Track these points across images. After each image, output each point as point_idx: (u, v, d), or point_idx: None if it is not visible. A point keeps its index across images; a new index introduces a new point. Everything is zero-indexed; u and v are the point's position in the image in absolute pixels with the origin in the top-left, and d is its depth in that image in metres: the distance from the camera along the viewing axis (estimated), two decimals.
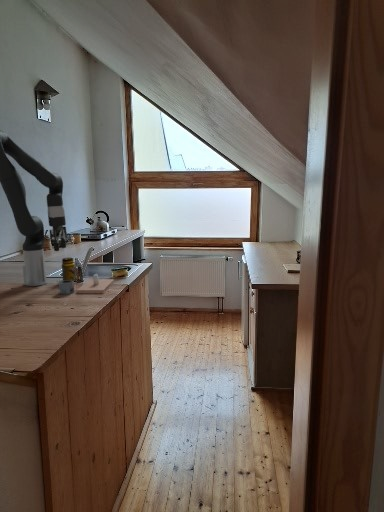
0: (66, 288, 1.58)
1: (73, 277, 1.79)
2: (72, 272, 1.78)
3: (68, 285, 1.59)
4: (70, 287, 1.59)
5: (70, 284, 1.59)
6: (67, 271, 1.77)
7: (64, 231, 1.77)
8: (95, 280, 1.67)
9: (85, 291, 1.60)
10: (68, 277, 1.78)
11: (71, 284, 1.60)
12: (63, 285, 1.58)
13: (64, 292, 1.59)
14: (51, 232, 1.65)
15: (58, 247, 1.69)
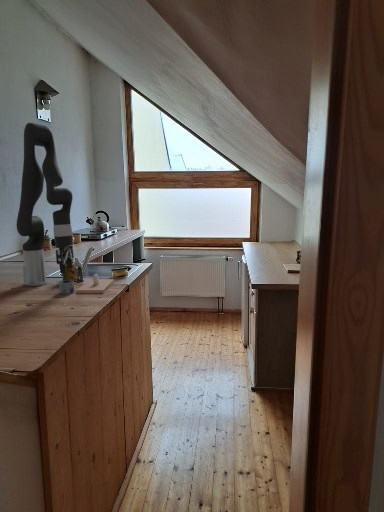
0: (66, 288, 1.58)
1: (73, 277, 1.79)
2: (72, 272, 1.78)
3: (68, 285, 1.59)
4: (70, 287, 1.59)
5: (70, 284, 1.59)
6: (67, 271, 1.77)
7: (71, 250, 1.64)
8: (95, 280, 1.67)
9: (85, 291, 1.60)
10: (68, 277, 1.78)
11: (71, 284, 1.60)
12: (63, 285, 1.58)
13: (64, 292, 1.59)
14: (57, 253, 1.52)
15: (64, 269, 1.55)
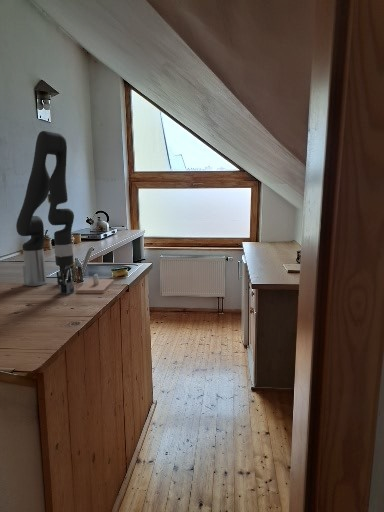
0: None
1: None
2: None
3: (68, 285, 1.59)
4: (70, 287, 1.59)
5: (70, 284, 1.59)
6: None
7: (71, 270, 1.65)
8: (95, 280, 1.67)
9: (85, 291, 1.60)
10: None
11: (71, 284, 1.60)
12: None
13: None
14: (58, 275, 1.53)
15: (66, 289, 1.58)
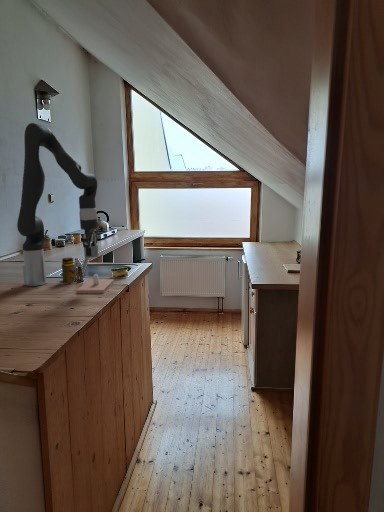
0: (91, 251, 1.62)
1: (73, 277, 1.79)
2: (72, 272, 1.78)
3: (93, 248, 1.62)
4: (95, 251, 1.63)
5: (94, 247, 1.62)
6: (67, 271, 1.77)
7: (95, 235, 1.69)
8: (95, 280, 1.67)
9: (85, 291, 1.60)
10: (68, 277, 1.78)
11: (95, 248, 1.63)
12: None
13: None
14: (83, 237, 1.57)
15: (90, 252, 1.61)
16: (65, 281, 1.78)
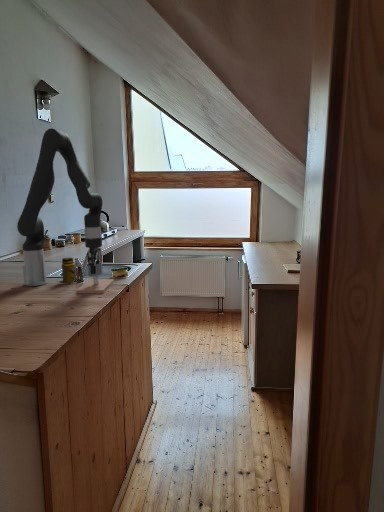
0: None
1: (73, 277, 1.79)
2: (72, 272, 1.78)
3: (97, 266, 1.65)
4: (99, 268, 1.66)
5: (99, 265, 1.65)
6: (67, 271, 1.77)
7: None
8: (95, 280, 1.67)
9: (85, 291, 1.60)
10: (68, 277, 1.77)
11: (100, 265, 1.66)
12: None
13: None
14: (89, 256, 1.60)
15: (95, 270, 1.64)
16: (65, 281, 1.78)
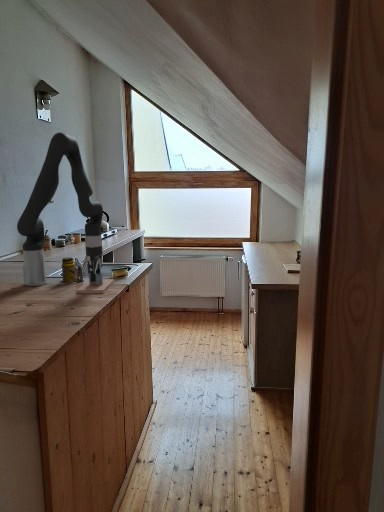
0: (96, 280, 1.65)
1: (73, 277, 1.79)
2: (72, 272, 1.78)
3: (98, 277, 1.66)
4: (99, 279, 1.66)
5: (99, 276, 1.66)
6: (67, 271, 1.77)
7: (99, 260, 1.72)
8: None
9: (85, 291, 1.60)
10: (68, 277, 1.77)
11: (100, 276, 1.67)
12: None
13: (94, 284, 1.66)
14: (89, 263, 1.60)
15: (95, 278, 1.64)
16: (65, 281, 1.78)
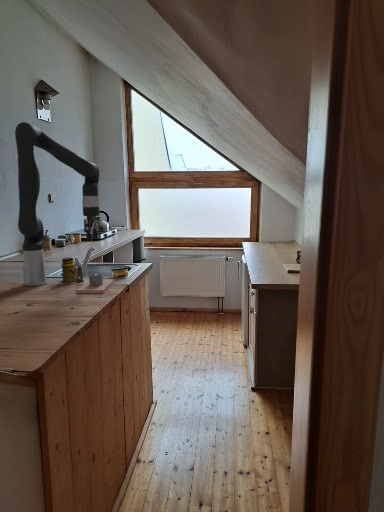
0: (96, 280, 1.65)
1: (73, 277, 1.79)
2: (72, 272, 1.78)
3: (98, 277, 1.66)
4: (99, 279, 1.66)
5: (99, 276, 1.66)
6: (67, 271, 1.77)
7: (96, 222, 1.76)
8: None
9: (85, 291, 1.60)
10: (68, 277, 1.78)
11: (100, 276, 1.67)
12: (93, 277, 1.65)
13: (94, 284, 1.66)
14: (85, 222, 1.63)
15: (91, 237, 1.67)
16: (65, 281, 1.78)
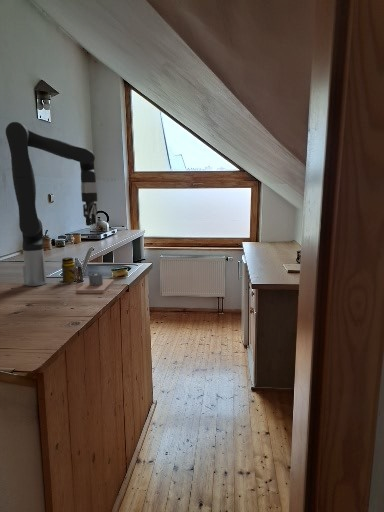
0: (96, 280, 1.65)
1: (73, 277, 1.79)
2: (72, 272, 1.78)
3: (98, 277, 1.66)
4: (99, 279, 1.66)
5: (99, 276, 1.66)
6: (67, 271, 1.77)
7: (95, 207, 1.85)
8: None
9: (85, 291, 1.60)
10: (68, 277, 1.77)
11: (100, 276, 1.67)
12: (93, 277, 1.65)
13: (94, 284, 1.66)
14: (84, 207, 1.72)
15: (90, 222, 1.76)
16: (65, 281, 1.78)
